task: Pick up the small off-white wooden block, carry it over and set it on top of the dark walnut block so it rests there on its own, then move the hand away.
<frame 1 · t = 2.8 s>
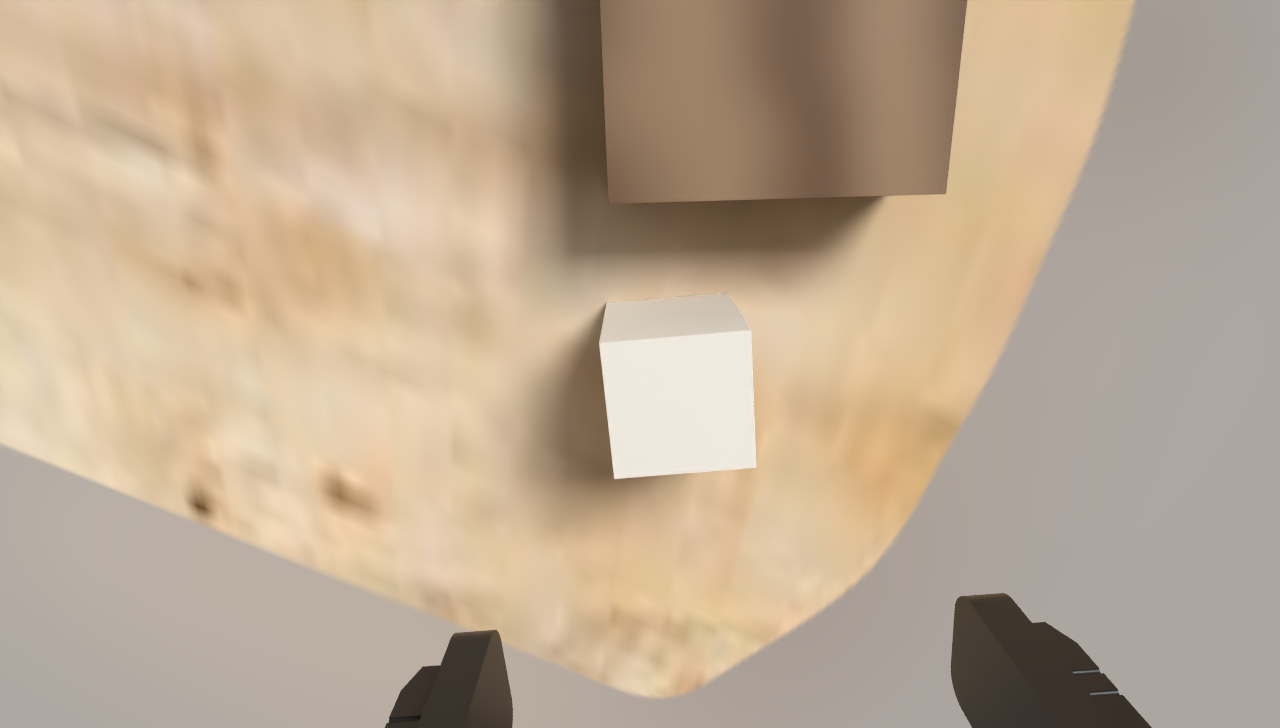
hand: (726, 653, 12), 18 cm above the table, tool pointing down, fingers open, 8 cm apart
cream block: (671, 354, 29), on the table
walnut block: (755, 36, 25), on the table
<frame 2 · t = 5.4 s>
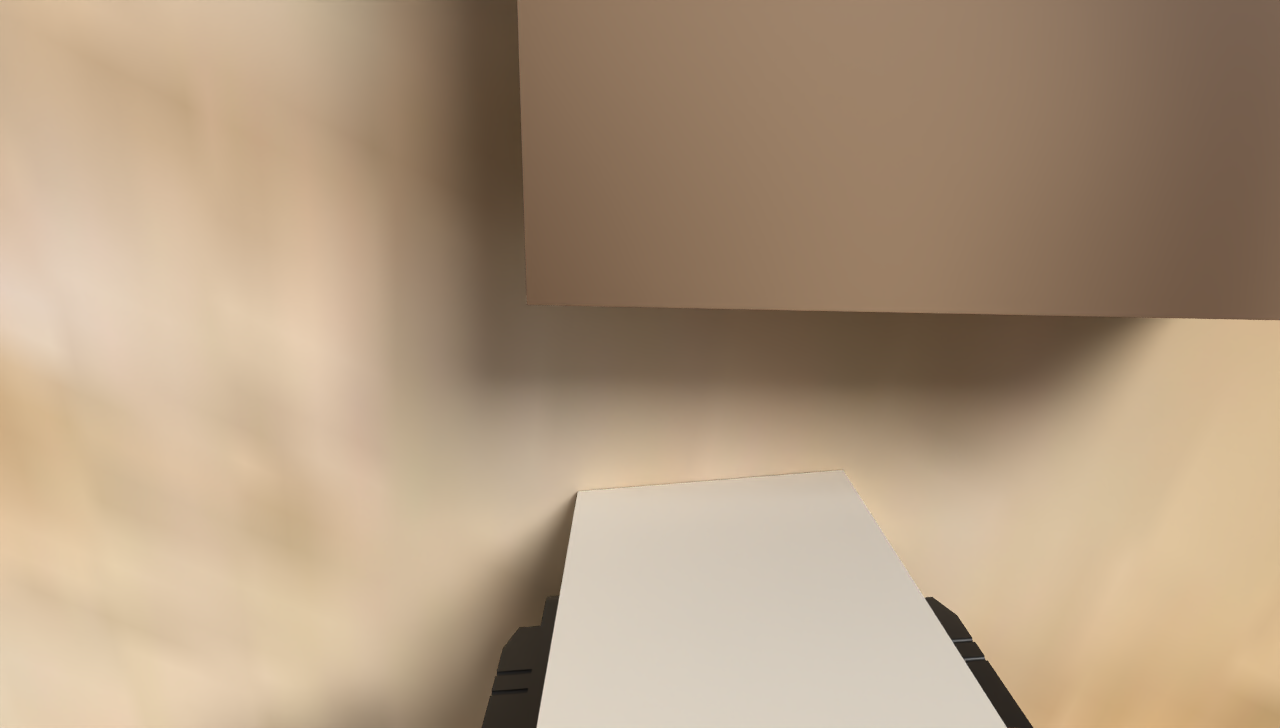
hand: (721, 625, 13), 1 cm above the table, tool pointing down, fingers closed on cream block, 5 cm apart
cream block: (717, 592, 13), on the table, touching gripper
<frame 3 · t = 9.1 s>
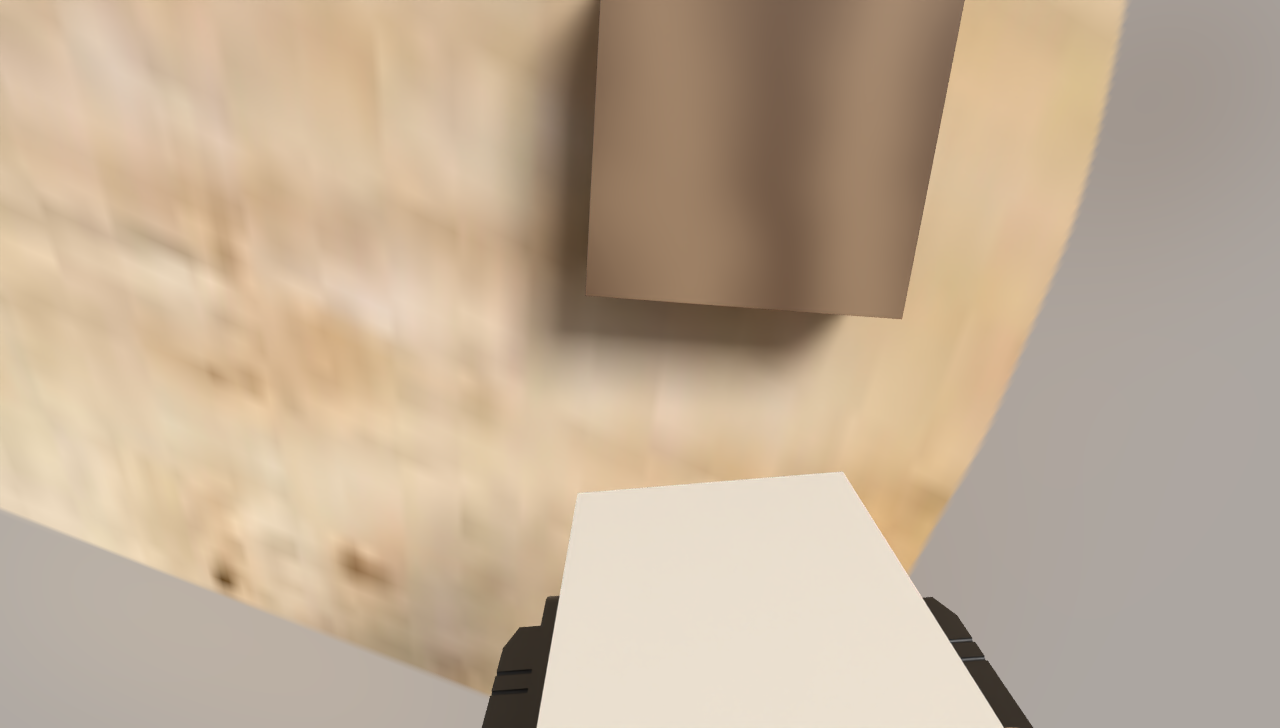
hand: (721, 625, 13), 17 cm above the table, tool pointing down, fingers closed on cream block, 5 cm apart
cream block: (716, 594, 13), point 16 cm above the table, touching gripper
walnut block: (743, 142, 26), on the table
when the fingers open (7 cm above the table, at t = 13.0 s): cream block drops 2 cm, resting on walnut block.
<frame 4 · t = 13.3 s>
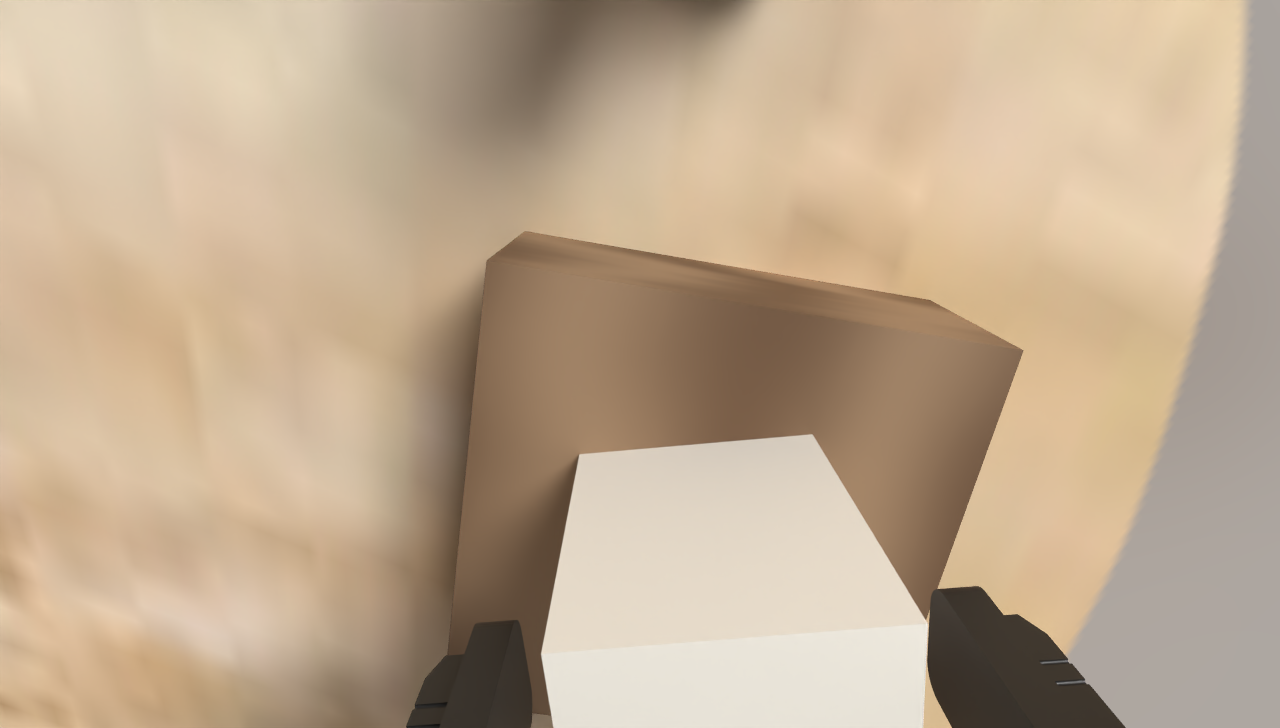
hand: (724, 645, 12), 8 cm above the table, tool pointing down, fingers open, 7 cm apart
cream block: (702, 545, 15), point 5 cm above the table, touching walnut block
walnut block: (690, 446, 20), on the table, touching cream block
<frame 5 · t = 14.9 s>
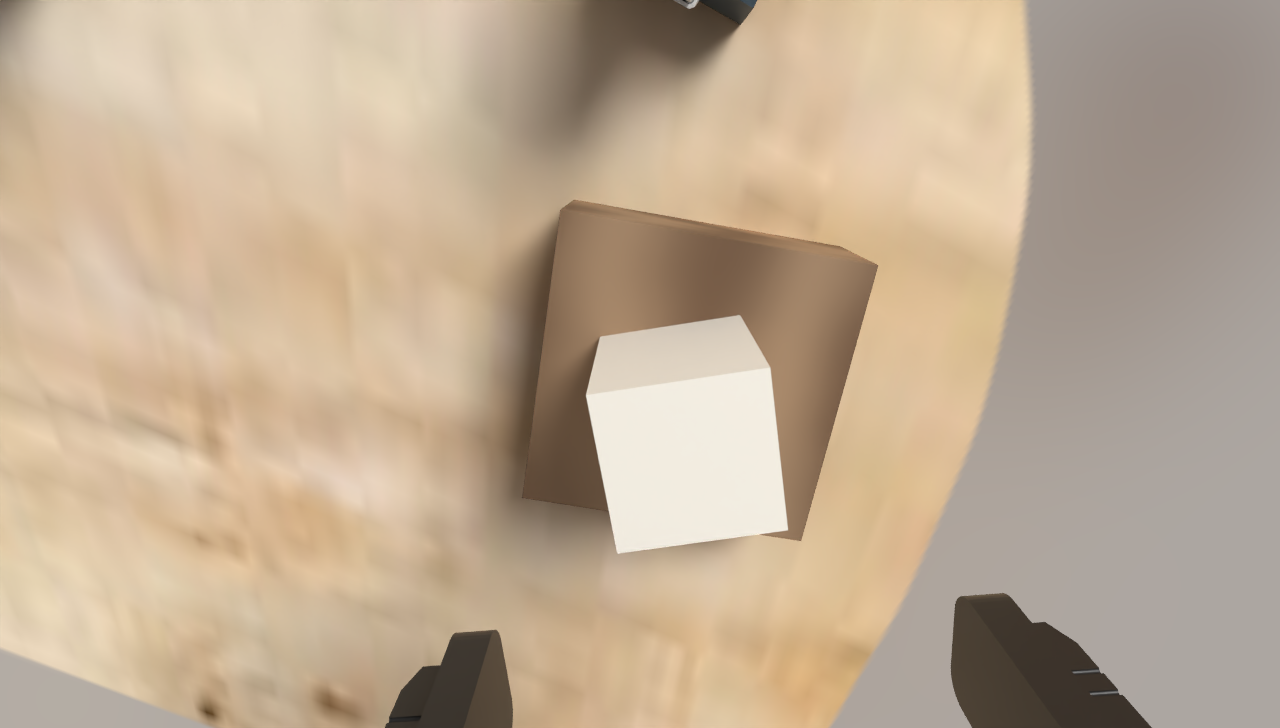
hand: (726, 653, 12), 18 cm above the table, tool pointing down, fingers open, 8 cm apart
cream block: (679, 391, 25), point 5 cm above the table
walnut block: (682, 349, 29), on the table
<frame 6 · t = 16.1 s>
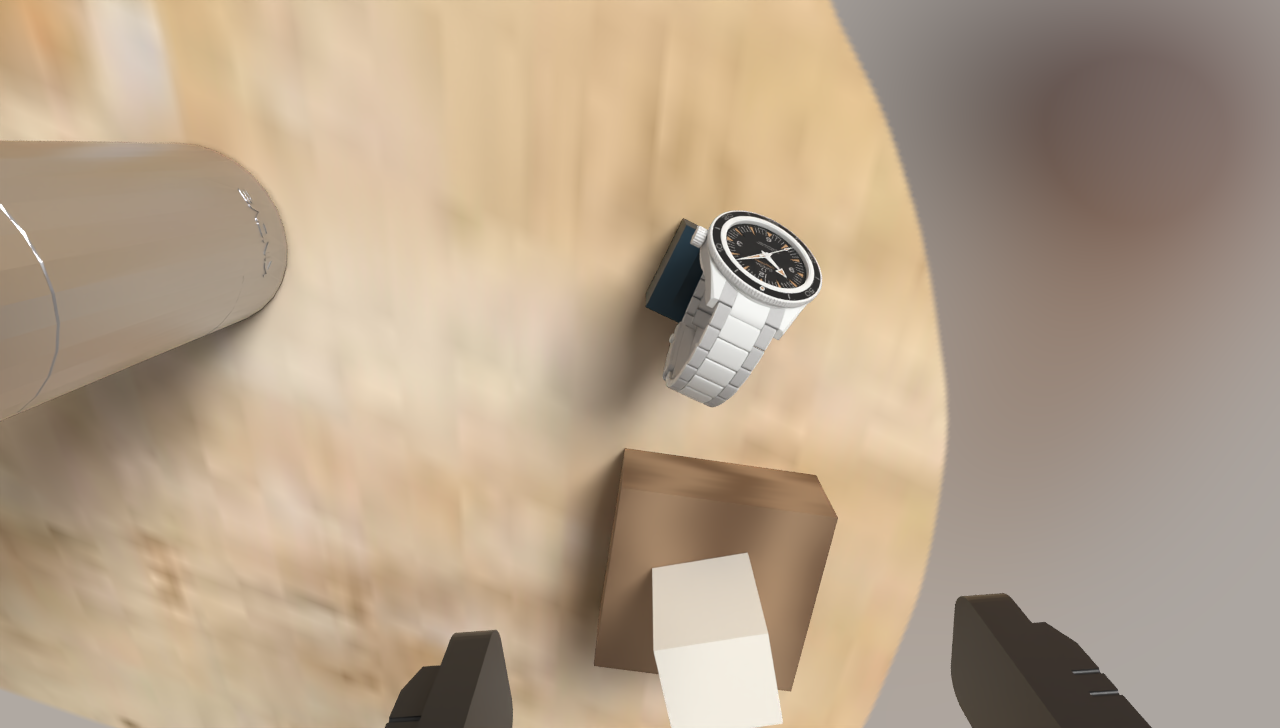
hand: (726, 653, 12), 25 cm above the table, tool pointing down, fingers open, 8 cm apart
watch: (711, 277, 35), on the table
cream block: (707, 600, 35), point 5 cm above the table
walnut block: (703, 542, 40), on the table
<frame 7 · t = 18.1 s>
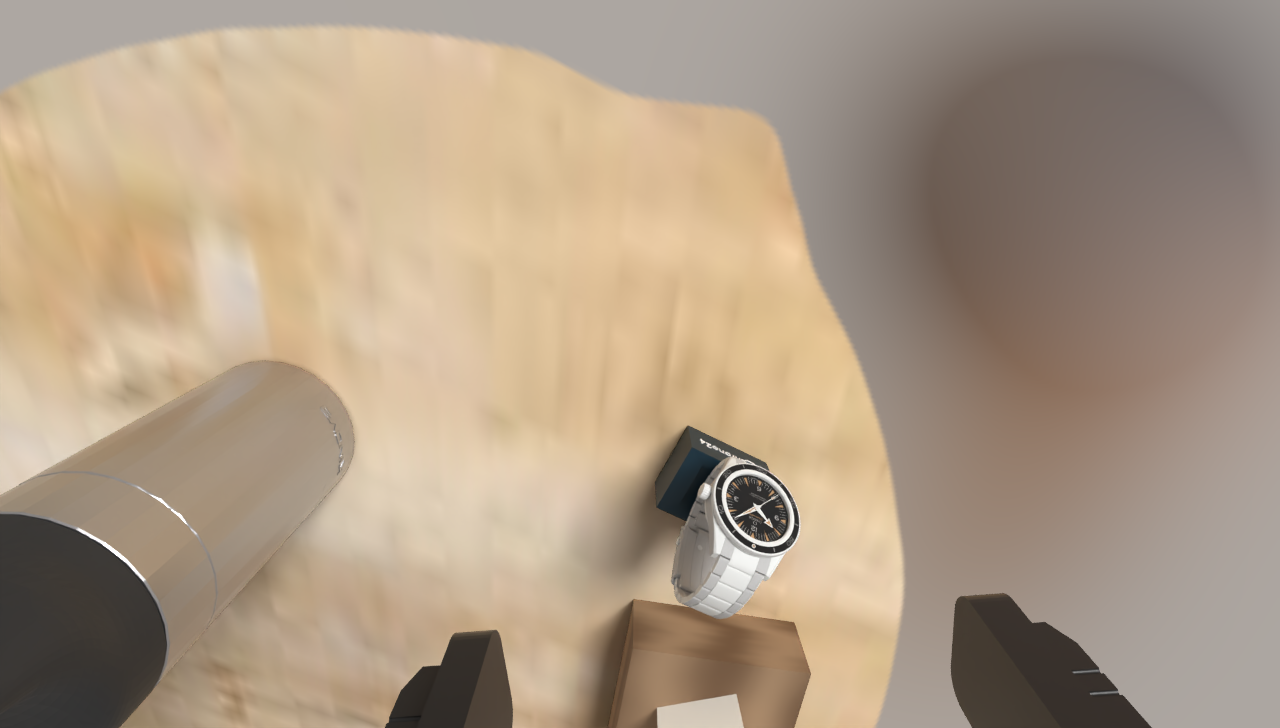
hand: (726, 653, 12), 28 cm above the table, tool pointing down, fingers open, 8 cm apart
watch: (710, 469, 42), on the table
walnut block: (697, 672, 47), on the table, touching cream block
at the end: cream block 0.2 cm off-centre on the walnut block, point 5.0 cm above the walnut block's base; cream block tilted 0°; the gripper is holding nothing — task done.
